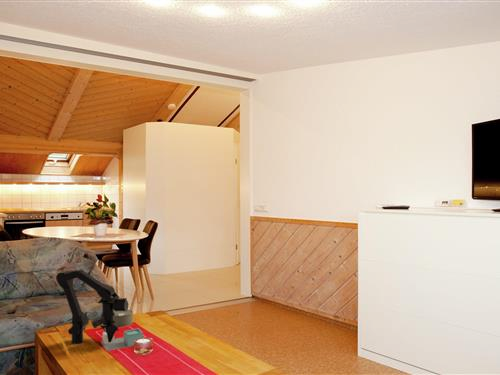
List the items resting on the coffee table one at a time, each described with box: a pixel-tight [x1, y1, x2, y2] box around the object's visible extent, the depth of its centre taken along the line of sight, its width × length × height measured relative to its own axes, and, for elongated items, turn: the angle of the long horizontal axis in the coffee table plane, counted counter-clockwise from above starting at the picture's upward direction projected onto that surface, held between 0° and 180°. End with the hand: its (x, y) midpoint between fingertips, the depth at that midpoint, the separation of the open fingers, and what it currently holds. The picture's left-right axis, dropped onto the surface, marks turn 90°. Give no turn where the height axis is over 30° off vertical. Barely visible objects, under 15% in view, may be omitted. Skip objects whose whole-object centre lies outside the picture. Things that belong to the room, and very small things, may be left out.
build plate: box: [100, 327, 144, 352], centre depth 233 cm, size 16×19×7 cm
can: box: [112, 309, 134, 328], centre depth 269 cm, size 12×12×7 cm
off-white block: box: [102, 331, 116, 344], centre depth 234 cm, size 5×5×5 cm
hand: (108, 340), depth 234 cm, fingers closed on off-white block, 5 cm apart
